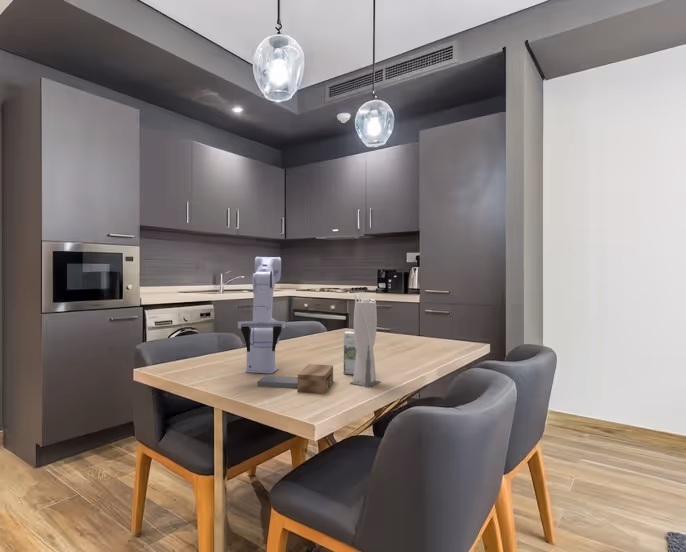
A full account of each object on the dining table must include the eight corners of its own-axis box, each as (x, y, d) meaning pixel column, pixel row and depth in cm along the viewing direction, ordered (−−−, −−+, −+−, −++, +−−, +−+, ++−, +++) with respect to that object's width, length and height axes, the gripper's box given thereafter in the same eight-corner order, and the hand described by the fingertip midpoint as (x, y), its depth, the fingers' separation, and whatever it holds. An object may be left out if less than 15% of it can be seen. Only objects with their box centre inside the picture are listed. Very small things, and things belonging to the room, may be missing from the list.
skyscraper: (346, 383, 128) (347, 294, 128) (359, 377, 135) (360, 293, 134) (369, 387, 123) (370, 295, 123) (381, 381, 130) (382, 294, 130)
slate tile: (257, 387, 123) (257, 381, 123) (265, 381, 130) (265, 375, 130) (299, 390, 122) (299, 383, 122) (304, 383, 128) (304, 377, 128)
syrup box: (363, 371, 143) (363, 330, 142) (359, 376, 137) (359, 333, 137) (347, 370, 144) (347, 329, 144) (343, 374, 138) (343, 332, 138)
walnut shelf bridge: (297, 391, 118) (297, 374, 118) (308, 379, 131) (308, 364, 131) (324, 393, 117) (324, 375, 117) (333, 380, 130) (333, 365, 130)
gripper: (237, 306, 125) (235, 350, 121) (284, 305, 126) (283, 350, 123) (240, 309, 132) (238, 352, 128) (285, 309, 133) (285, 351, 130)
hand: (261, 351), depth 126 cm, fingers open, 7 cm apart
